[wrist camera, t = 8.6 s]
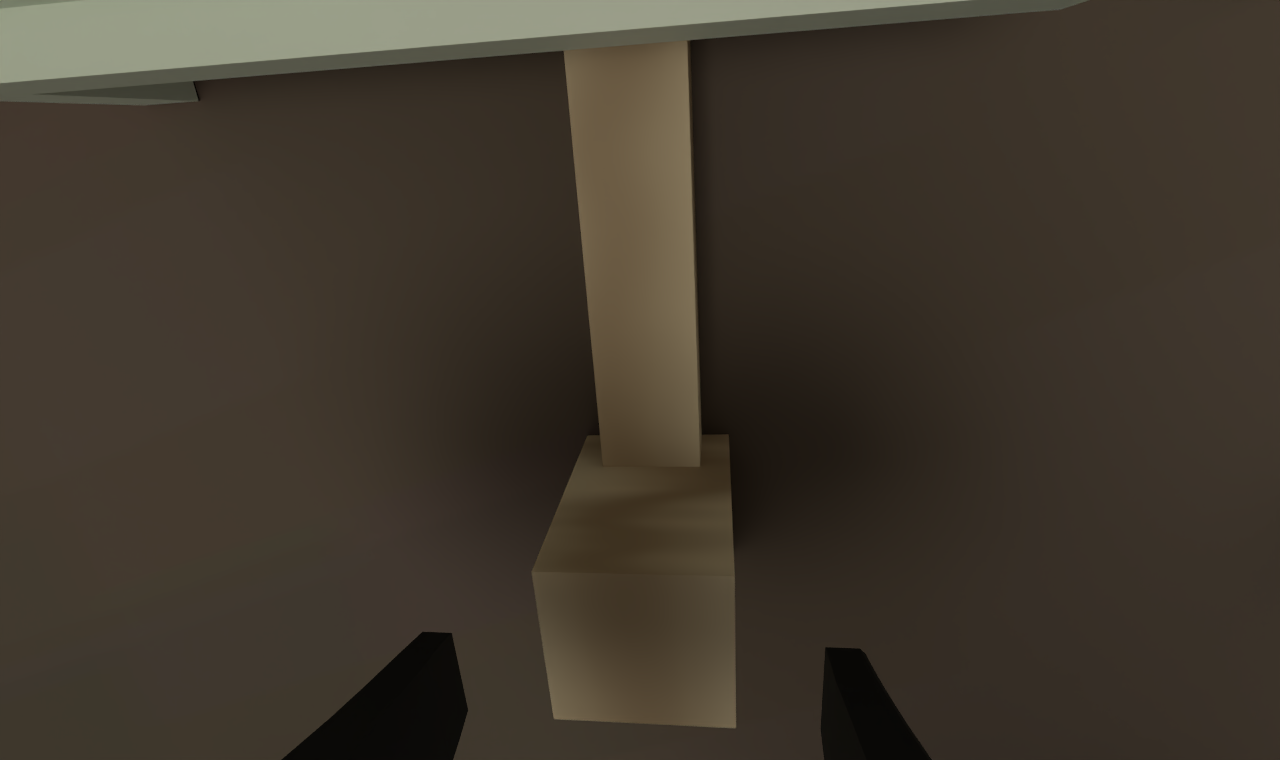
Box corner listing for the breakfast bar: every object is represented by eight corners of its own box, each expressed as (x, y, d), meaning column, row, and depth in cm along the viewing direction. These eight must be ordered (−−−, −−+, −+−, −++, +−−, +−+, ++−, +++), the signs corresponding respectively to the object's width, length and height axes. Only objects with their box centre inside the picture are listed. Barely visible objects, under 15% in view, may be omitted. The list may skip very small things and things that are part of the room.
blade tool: (796, -89, 13) (855, -243, 8) (781, 554, 19) (808, 732, 13) (469, -55, 14) (308, -171, 8) (552, 550, 20) (488, 715, 14)
